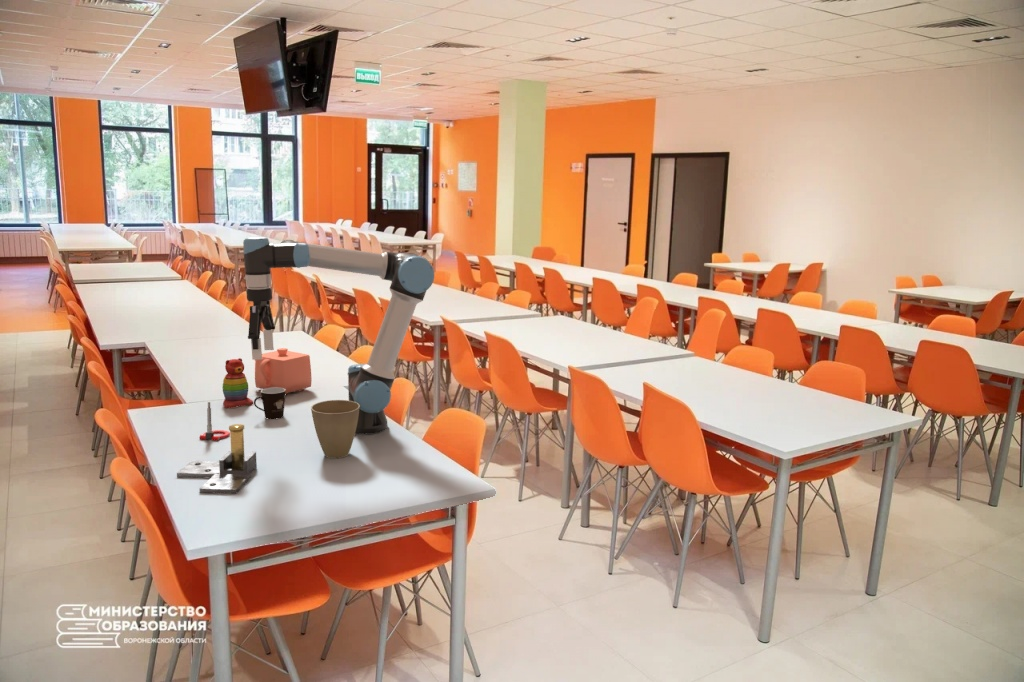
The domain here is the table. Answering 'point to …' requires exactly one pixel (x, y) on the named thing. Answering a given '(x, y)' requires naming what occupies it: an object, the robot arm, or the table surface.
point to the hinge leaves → (221, 473)
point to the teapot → (283, 370)
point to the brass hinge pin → (237, 445)
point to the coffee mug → (272, 402)
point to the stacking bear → (235, 385)
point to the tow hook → (210, 434)
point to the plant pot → (335, 426)
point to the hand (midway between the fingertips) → (263, 354)
